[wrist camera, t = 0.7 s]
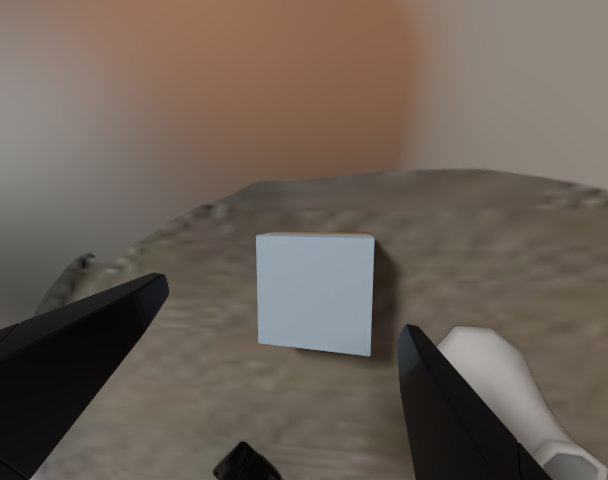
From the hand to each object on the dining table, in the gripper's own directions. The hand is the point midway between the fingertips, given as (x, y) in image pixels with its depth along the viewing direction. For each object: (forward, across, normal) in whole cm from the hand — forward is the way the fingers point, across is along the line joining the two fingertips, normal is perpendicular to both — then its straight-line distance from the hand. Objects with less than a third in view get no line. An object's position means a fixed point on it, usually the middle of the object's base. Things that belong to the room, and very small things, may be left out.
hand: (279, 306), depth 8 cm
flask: (+10, -17, +12) cm, 24 cm away
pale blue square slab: (+11, -1, +8) cm, 14 cm away
